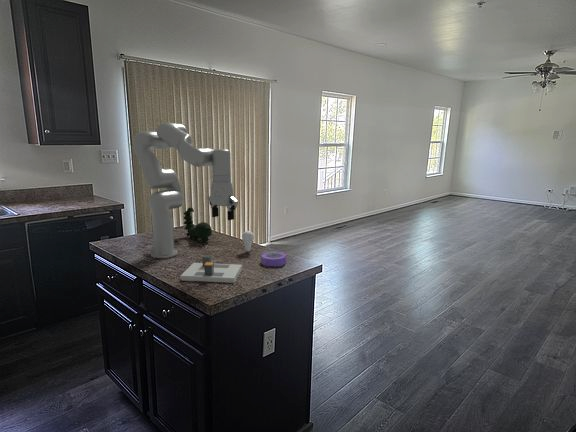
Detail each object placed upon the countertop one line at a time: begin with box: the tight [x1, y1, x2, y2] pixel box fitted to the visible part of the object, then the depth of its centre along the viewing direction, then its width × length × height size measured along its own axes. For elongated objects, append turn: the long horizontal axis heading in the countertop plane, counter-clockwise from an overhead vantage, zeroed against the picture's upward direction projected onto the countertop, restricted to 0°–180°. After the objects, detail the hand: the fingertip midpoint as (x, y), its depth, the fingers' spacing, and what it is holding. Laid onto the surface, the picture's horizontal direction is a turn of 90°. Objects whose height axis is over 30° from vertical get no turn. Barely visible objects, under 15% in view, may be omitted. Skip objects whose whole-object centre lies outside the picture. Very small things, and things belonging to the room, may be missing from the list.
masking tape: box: [260, 251, 287, 268], centre depth 170 cm, size 12×12×4 cm
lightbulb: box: [241, 230, 255, 253], centre depth 185 cm, size 6×6×11 cm
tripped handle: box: [204, 261, 215, 275], centre depth 148 cm, size 3×3×4 cm
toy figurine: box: [183, 207, 213, 243], centre depth 204 cm, size 9×19×25 cm
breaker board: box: [180, 262, 243, 284], centre depth 154 cm, size 22×16×2 cm
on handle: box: [201, 254, 212, 266], centre depth 158 cm, size 3×3×4 cm
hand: (223, 218), depth 157 cm, fingers open, 9 cm apart
